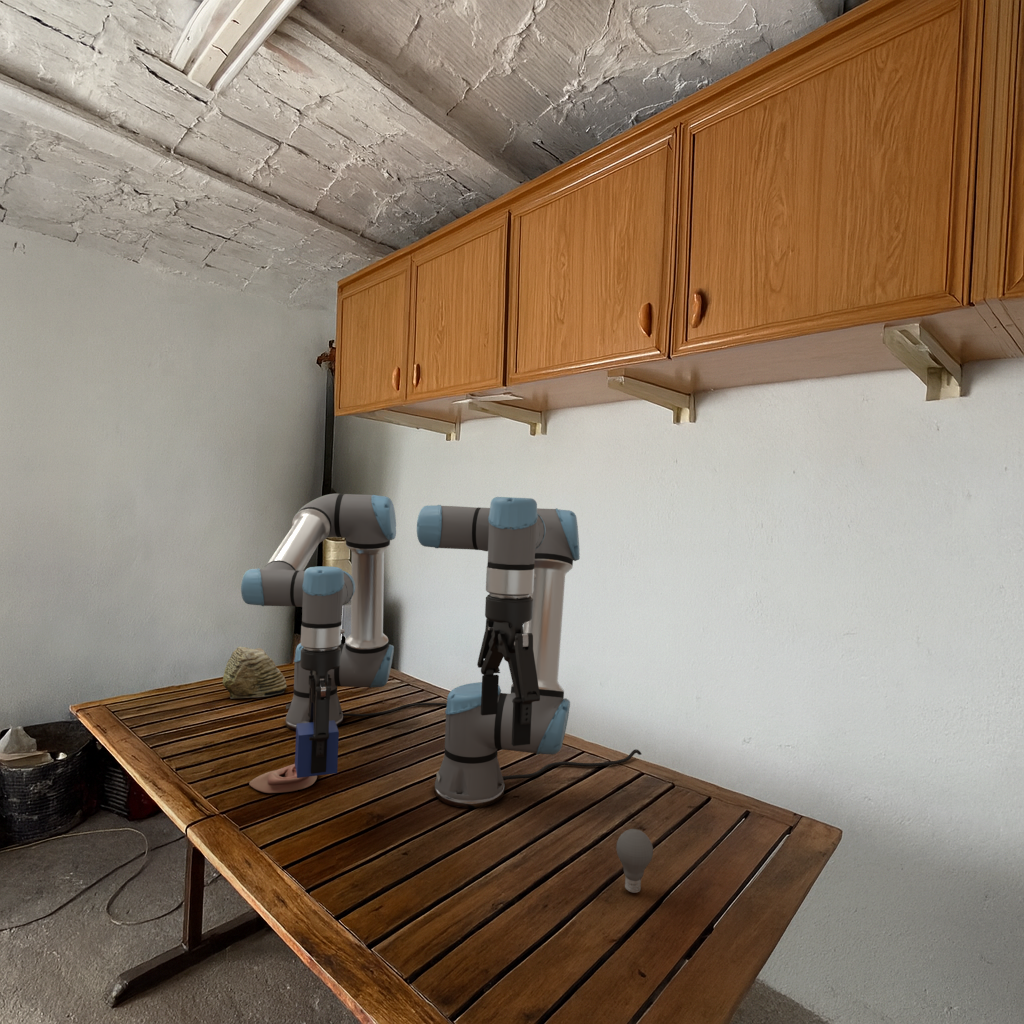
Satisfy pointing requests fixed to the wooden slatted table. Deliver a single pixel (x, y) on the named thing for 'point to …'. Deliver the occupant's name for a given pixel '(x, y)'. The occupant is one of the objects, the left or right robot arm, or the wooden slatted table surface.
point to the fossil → (252, 674)
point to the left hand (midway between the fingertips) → (316, 764)
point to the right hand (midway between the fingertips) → (503, 728)
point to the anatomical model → (281, 781)
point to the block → (305, 749)
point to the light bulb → (634, 857)
